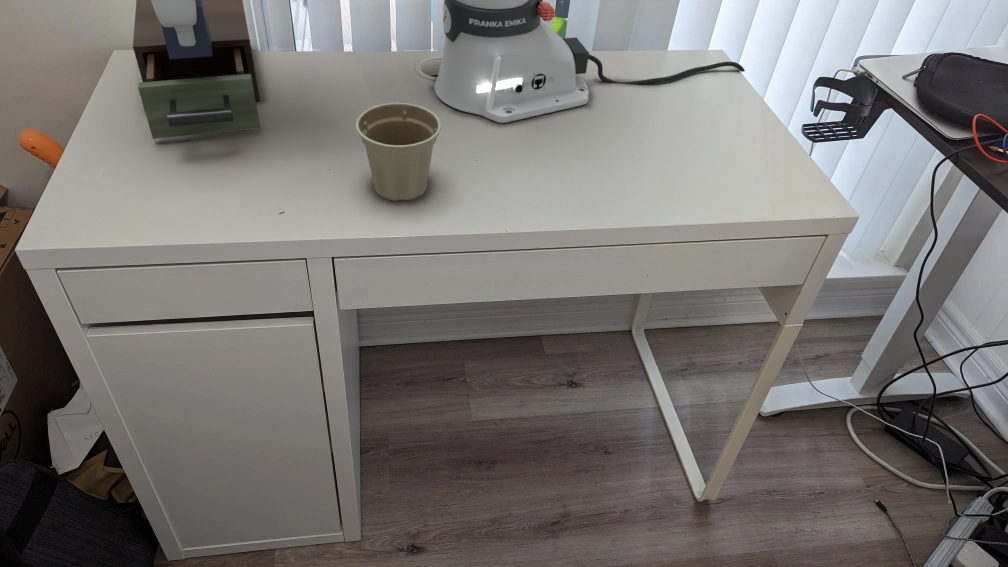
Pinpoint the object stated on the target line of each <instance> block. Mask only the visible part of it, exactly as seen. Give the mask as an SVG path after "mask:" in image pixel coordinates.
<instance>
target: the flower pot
mask: <svg viewBox="0 0 1008 567" xmlns="http://www.w3.org/2000/svg"><path fill="white" fill-rule="evenodd" d="M355 130H356V132H357V134H358V136H359V137H360V139H361V142H362V144H363V146H364V147H365V152H366V155H367V160H368V164H369V169H370V174H371V178H372V182H373V187H374V190H375V192H376V193H377V194H378V195H379V196H381V197H382V198H384V199H387V200H388V201H389V200H390V201H393V202H396V201H399V200H404V201H405V200H406V201H411V200H415V199H417V198H419V197H420V196H422V195H423V194H424V193H425V192H426V190H427V186H428V178H429V172H430V166H431V162H432V161H431V160H432V155H433V149H434V145H435V144H436V142H437V138H438V136H439V134H440V133H441V130H442V122H441V119H440V118H439V117H438V115H437V114H436V113H435V112H433V111H432V110H430V109H428V108H427V107H424V106H421V105H418V104H415V103H410V102H409V103H408V102H388V103H387V102H385V103H381V104H376V105H373V106H372V107H369V108H367V109H366V110H364V111H363V112H361V113H360V114H359V116H358V117H357V118H356V121H355Z"/></svg>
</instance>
